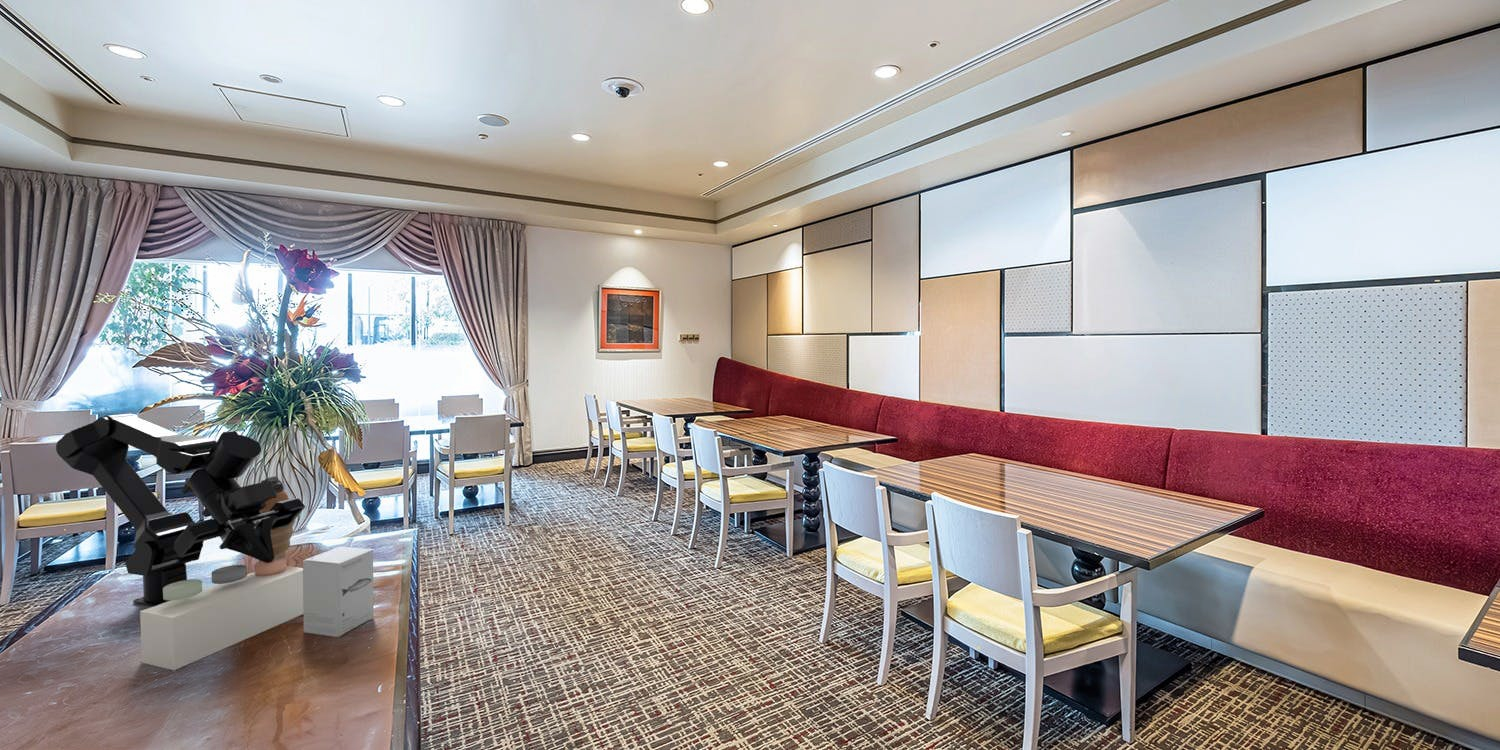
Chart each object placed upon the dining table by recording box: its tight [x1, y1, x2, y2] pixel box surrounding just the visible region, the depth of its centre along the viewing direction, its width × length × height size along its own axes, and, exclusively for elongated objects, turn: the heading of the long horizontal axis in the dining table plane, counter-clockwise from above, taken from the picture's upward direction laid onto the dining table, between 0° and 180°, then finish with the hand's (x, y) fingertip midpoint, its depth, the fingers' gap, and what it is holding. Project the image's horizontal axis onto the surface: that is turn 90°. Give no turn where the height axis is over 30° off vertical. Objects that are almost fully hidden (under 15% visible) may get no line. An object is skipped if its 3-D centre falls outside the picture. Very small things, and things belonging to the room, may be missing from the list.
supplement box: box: [302, 546, 375, 638], centre depth 102 cm, size 7×7×13 cm
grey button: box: [210, 564, 248, 585], centre depth 98 cm, size 4×4×2 cm
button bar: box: [139, 565, 304, 671], centre depth 98 cm, size 7×20×8 cm, turn 164°
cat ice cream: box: [258, 490, 296, 562], centre depth 126 cm, size 9×8×18 cm
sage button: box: [163, 578, 203, 600], centre depth 92 cm, size 4×4×2 cm
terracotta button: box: [253, 557, 287, 575], centre depth 105 cm, size 4×4×2 cm
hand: (271, 560), depth 105 cm, fingers closed, pressing on terracotta button
